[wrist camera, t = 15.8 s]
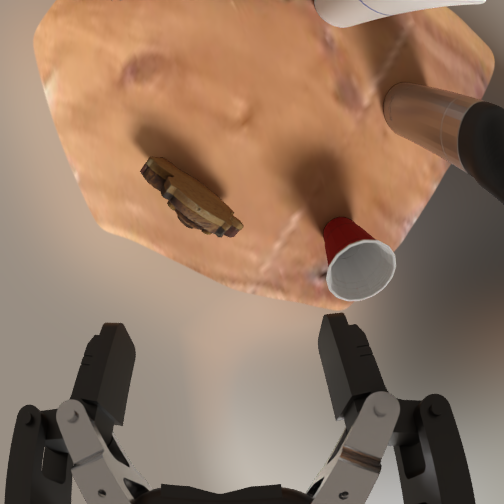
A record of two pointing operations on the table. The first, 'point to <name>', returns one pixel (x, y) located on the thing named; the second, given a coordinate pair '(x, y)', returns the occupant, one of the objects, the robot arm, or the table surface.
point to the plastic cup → (356, 261)
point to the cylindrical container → (375, 9)
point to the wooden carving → (191, 199)
